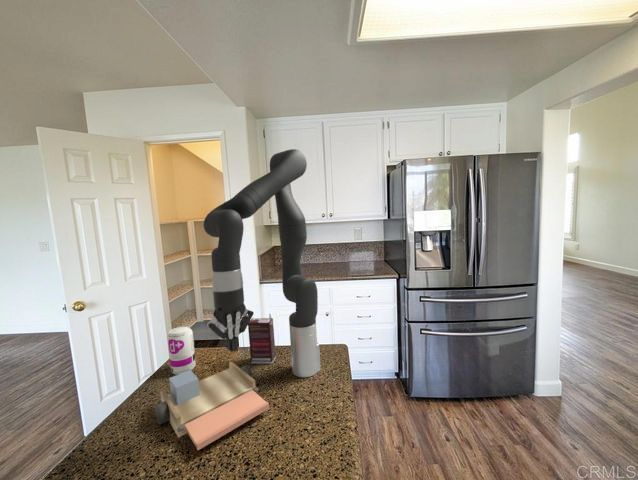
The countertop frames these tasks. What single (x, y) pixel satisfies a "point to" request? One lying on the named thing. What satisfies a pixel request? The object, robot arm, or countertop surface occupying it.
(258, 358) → the supplement box
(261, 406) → the pink rectangular board
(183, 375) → the blue gray block
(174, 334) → the supplement can
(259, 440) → the countertop surface
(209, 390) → the flatbed
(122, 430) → the countertop surface
